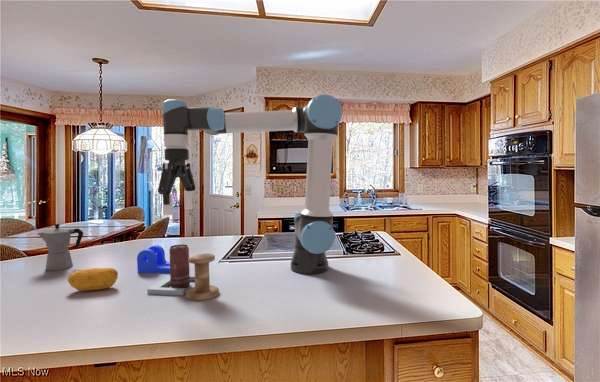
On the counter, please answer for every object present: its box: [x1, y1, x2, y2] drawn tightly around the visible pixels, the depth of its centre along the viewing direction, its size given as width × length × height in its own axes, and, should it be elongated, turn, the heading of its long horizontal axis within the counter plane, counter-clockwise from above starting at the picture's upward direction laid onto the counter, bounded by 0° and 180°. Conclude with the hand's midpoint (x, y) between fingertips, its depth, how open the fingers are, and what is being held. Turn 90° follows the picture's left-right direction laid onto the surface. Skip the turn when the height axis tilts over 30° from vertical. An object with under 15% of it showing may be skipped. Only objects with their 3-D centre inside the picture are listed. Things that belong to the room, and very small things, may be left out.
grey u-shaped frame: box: [146, 274, 195, 296], centre depth 111 cm, size 12×15×2 cm
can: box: [168, 244, 191, 289], centre depth 111 cm, size 6×6×14 cm
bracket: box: [136, 244, 170, 274], centre depth 130 cm, size 18×8×9 cm, turn 86°
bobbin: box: [185, 253, 220, 302], centre depth 104 cm, size 10×10×12 cm
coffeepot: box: [37, 223, 84, 272], centre depth 133 cm, size 15×9×18 cm, turn 113°
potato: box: [67, 267, 119, 291], centre depth 109 cm, size 7×14×7 cm, turn 98°
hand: (179, 212), depth 110 cm, fingers open, 13 cm apart
